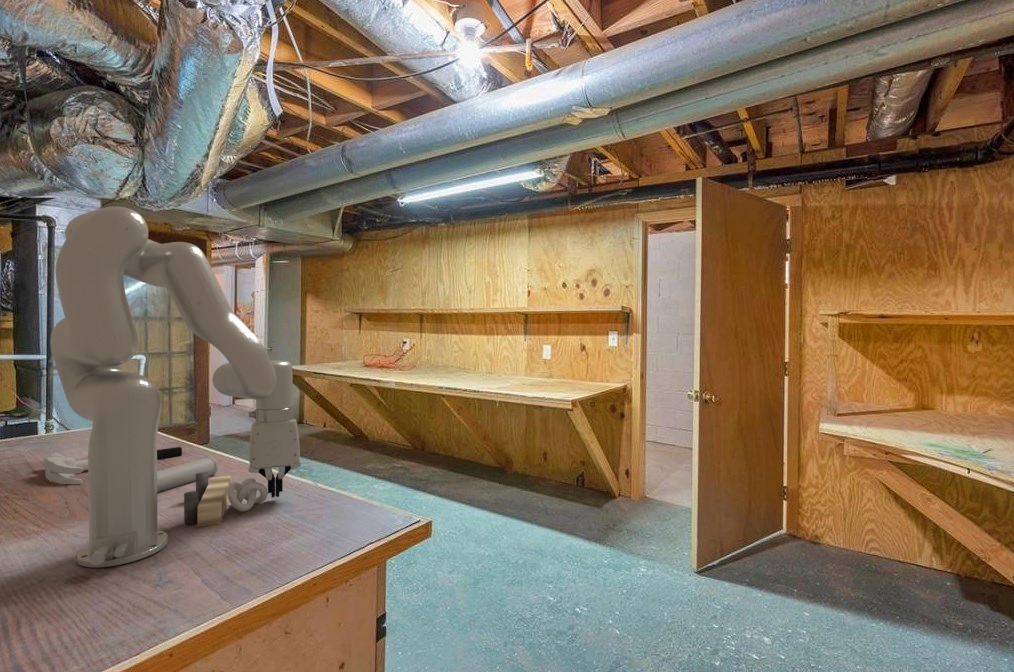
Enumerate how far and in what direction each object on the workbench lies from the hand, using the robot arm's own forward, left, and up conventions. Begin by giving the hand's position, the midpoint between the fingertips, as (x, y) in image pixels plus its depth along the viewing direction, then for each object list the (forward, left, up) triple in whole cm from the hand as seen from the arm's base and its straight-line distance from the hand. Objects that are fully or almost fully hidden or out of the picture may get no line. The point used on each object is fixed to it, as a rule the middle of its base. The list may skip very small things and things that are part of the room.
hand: (275, 495), depth 110 cm
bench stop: (+1, +13, -1) cm, 13 cm away
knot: (-1, +6, -2) cm, 6 cm away
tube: (+20, +25, -2) cm, 32 cm away
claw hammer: (+46, +40, -2) cm, 61 cm away
